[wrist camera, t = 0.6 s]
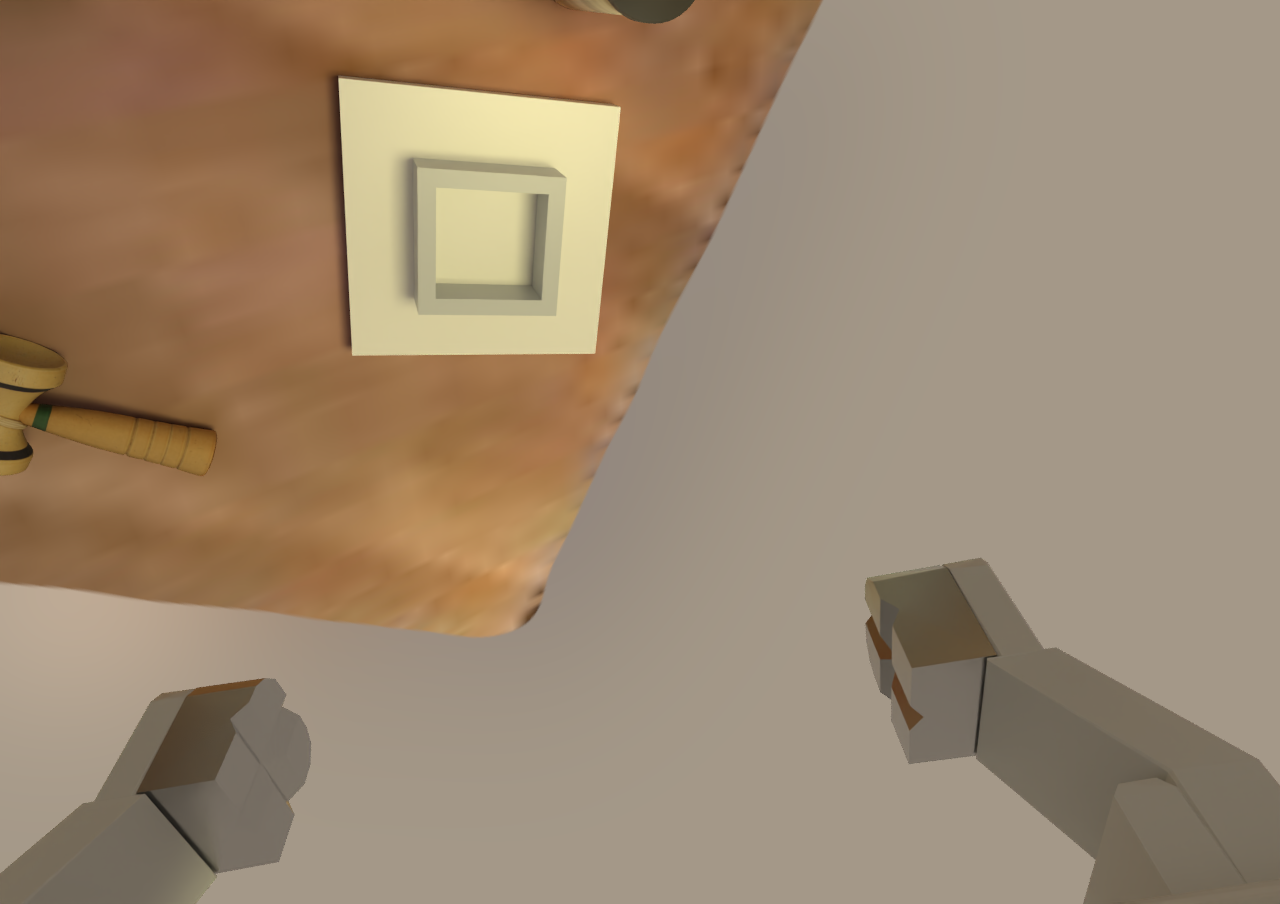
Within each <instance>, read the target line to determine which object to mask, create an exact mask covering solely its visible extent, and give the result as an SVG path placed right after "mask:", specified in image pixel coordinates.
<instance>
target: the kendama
mask: <svg viewBox="0 0 1280 904" xmlns="http://www.w3.org/2000/svg"><path fill="white" fill-rule="evenodd" d="M67 367H68V364H67V362H66V361H65V360H64V359H63V358H62V357H61V356H60V355H58V354H57V353H55V352H54V351H52V350H49V349H47V348H45V347H43V346H41V345H38V344H36V343H33V342H30V341H27V340H24V339H20V338H17V337H13V336H8V335H4V334H0V476H3V475H13V474H17V473H20V472H23V471H24V470H26V468H27V467H28V465H29V463H30V461H31V459H32V457H33V449H32V447H31V446H30V445H29V443H28V442H27V440H26V438H25V437H24V434H23V429H25V428H26V427H27V426H31V427H34V428H37V429H40V430H43V431H46V432H49V433H52V434H55V435H58V436H61V437H63V438H67V439H70V440H73V441H76V442H79V443H82V444H85V445H89V446H92V447H95V448H99V449H103V450H106V451H110V452H114V453H117V454H122V455H124V454H126V455H127V456H129V457H133V458H137V459H144V460H145V461H148V462H152V463H156V464H161V465H164V466H167V467H171V468H177V469H178V470H182V471H185V472H188V473H192V474H195V475H198V476H204V475H205V474H206V473H207V471H208V469H209V468H210V465H211V462H212V460H213V457H214V453H215V448H216V442H217V434H216V432H215V431H213V430H207V429H200V428H193V427H189V428H187V427H186V426H181V425H175V424H169V423H164V422H158V421H156V422H154V421H152V420H147V419H142V418H137V419H136V418H135V417H131V416H126V415H121V414H115V413H109V412H103V411H97V410H89V409H81V408H72V407H64V406H55V405H47V404H38V403H31V402H32V401H33V400H34V399H36V398H37V397H38V396H39V395H41V394H42V393H44V392H45V391H48V390H50V389H53V388H55V387H58V386H60V385H61V384H62V383H63V381H64V377H65V374H66V371H67Z"/></svg>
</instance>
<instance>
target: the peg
mask: <svg viewBox="0 0 1280 904" xmlns="http://www.w3.org/2000/svg"><path fill="white" fill-rule="evenodd" d="M554 1H556V2H557V3H558V4H560V5H561V6H563V7H566V8H568V9H573V10H581V11H590V12H599V13H608V14H617V15H623V16H625V17H627V18H629V19H631V20H634V21H638V22H643V23H654V24H656V23H663V22H667V21H670V20H672V19H675V18H676V17H678V16H680V15H681V14H682V13H683V12H685V11H686V10H687V9H688V8H689V7H690V6H691V4H692V3H693V2H694V0H554Z"/></svg>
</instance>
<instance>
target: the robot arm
mask: <svg viewBox="0 0 1280 904" xmlns="http://www.w3.org/2000/svg"><path fill="white" fill-rule="evenodd" d="M865 600H866V602H867V605H868V607H869V610H870V612H871V614H872V616H871V617H870V618H869V620H868V621H867V622H866V641H867V647H868V653H869V658H870V663H871V666H872V669H873V673H874V676H875V679H876V682H877V684H878V687H879V690H880V692H881V693H882V694H884V695H886V696H887V697H888V698H890V699H891V720H892V723H893V725H894V728H895V730H896V733H897V735H898V738H899V740H900V743H901V745H902V748H903V750H904V753H905V755H906V758H907V760H908V763H909V764H913V763H920V762H928V761H936V760H944V759H952V758H958V757H967V756H975V755H976V759H977V760H978V761H979V762H981V763H982V764H983V765H984V766H985V767H986V768H988V769H989V770H990V771H991V772H992V773H994V774H995V775H996V776H997V777H998V778H1000V779H1001V780H1002V781H1003V782H1004V783H1006V784H1007V785H1008V786H1009V787H1010V788H1012V789H1013V790H1014V791H1015V792H1016V793H1017V794H1018V795H1020V796H1021V797H1022V798H1023V799H1024V800H1026V801H1027V802H1028V803H1029V804H1030V805H1032V806H1033V807H1034V808H1035V809H1036V810H1037V811H1039V812H1040V813H1041V814H1042V815H1043V816H1044V817H1046V818H1047V819H1048V820H1049V821H1050V822H1052V823H1053V824H1054V825H1055V826H1056V827H1057V828H1059V829H1060V830H1061V831H1062V832H1063V833H1065V834H1066V835H1067V836H1068V837H1069V838H1071V839H1072V840H1073V841H1074V842H1075V843H1076V844H1078V845H1079V846H1080V847H1081V848H1082V849H1084V850H1085V851H1086V852H1087V853H1088V854H1090V855H1091V856H1092V857H1093V858H1094V859H1095V860H1096V861H1095V864H1094V868H1093V871H1092V875H1091V878H1090V882H1089V885H1088V889H1087V892H1086V896H1085V899H1084V903H1083V904H1280V785H1279V784H1278V783H1277V781H1276V780H1275V779H1274V778H1273V776H1272V775H1271V774H1270V773H1269V772H1268V770H1267V769H1266V768H1265V767H1264V766H1263V764H1262V763H1261V762H1260V761H1259V759H1257V758H1255V757H1253V756H1251V755H1250V754H1248V753H1246V752H1244V751H1242V750H1240V749H1239V748H1237V747H1235V746H1233V745H1231V744H1229V743H1228V742H1226V741H1224V740H1222V739H1220V738H1219V737H1217V736H1215V735H1213V734H1211V733H1210V732H1208V731H1206V730H1204V729H1203V728H1201V727H1199V726H1197V725H1195V724H1193V723H1191V722H1190V721H1188V720H1186V719H1184V718H1183V717H1180V716H1179V715H1177V714H1175V713H1174V712H1172V711H1170V710H1168V709H1166V708H1164V707H1163V706H1161V705H1159V704H1157V703H1155V702H1154V701H1152V700H1150V699H1148V698H1146V697H1145V696H1143V695H1141V694H1139V693H1137V692H1136V691H1134V690H1132V689H1130V688H1128V687H1127V686H1125V685H1123V684H1121V683H1119V682H1117V681H1115V680H1114V679H1112V678H1110V677H1108V676H1107V675H1105V674H1103V673H1101V672H1099V671H1098V670H1096V669H1094V668H1092V667H1090V666H1089V665H1087V664H1085V663H1083V662H1081V661H1079V660H1078V659H1076V658H1074V657H1072V656H1070V655H1069V654H1067V653H1065V652H1063V651H1061V650H1060V649H1057V648H1050V649H1044V648H1043V647H1042V645H1041V644H1040V642H1039V641H1038V639H1037V638H1036V636H1035V634H1034V633H1033V631H1032V630H1031V628H1030V627H1029V625H1028V624H1027V622H1026V621H1025V619H1024V618H1023V616H1022V614H1021V613H1020V611H1019V610H1018V608H1017V607H1016V605H1015V604H1014V602H1013V601H1012V599H1011V598H1010V596H1009V594H1008V593H1007V591H1006V590H1005V588H1004V587H1003V585H1002V584H1001V582H1000V581H999V579H998V578H997V576H996V575H995V573H994V571H993V570H992V569H991V567H990V565H989V564H988V562H986V561H984V560H983V559H982V558H977V559H971V560H966V561H960V562H955V563H948V564H943V565H942V566H940V565H938V566H932V567H926V568H921V569H915V570H909V571H903V572H898V573H892V574H886V575H881V576H875V577H869V578H867V580H866V584H865ZM285 697H286V694H285V692H284V691H283V689H282V688H281V687H280V685H279V684H278V682H277V681H276V679H267V678H263V679H256V680H249V681H242V682H235V683H228V684H221V685H213V686H206V687H199V688H196V689H190V690H183V691H176V692H169V693H162V694H161V695H159V696H158V697H157V698H155V699H154V700H153V701H151V702H150V704H149V706H148V707H147V709H146V711H145V713H144V714H143V716H142V718H141V720H140V722H139V723H138V725H137V727H136V729H135V730H134V732H133V734H132V736H131V737H130V739H129V741H128V743H127V744H126V746H125V748H124V750H123V751H122V753H121V755H120V757H119V759H118V760H117V762H116V764H115V766H114V767H113V769H112V771H111V773H110V775H109V776H108V778H107V780H106V782H105V783H104V785H103V787H102V789H101V790H100V792H99V794H98V796H97V797H96V799H95V801H94V802H89V803H84V804H82V805H81V806H79V807H78V808H77V809H76V810H75V811H73V812H72V813H71V814H70V815H69V816H68V817H67V818H65V819H64V820H63V821H62V822H60V823H59V824H58V825H57V826H56V827H55V828H53V829H52V830H51V831H50V832H49V833H47V834H46V835H45V836H44V837H43V838H42V839H40V840H39V841H38V842H37V843H36V844H35V845H33V846H32V847H31V848H30V849H29V850H27V851H26V852H25V853H24V854H23V855H22V856H20V857H19V858H18V859H17V860H16V861H15V862H13V863H12V864H11V865H10V866H9V867H8V868H6V869H5V870H4V871H3V872H2V873H0V904H196V902H197V901H198V900H199V899H200V898H201V896H202V895H203V894H204V893H205V891H206V890H207V889H208V888H209V886H210V885H211V884H212V883H213V881H214V880H215V879H216V878H217V875H216V873H221V872H227V871H232V870H238V869H243V868H248V867H253V866H259V865H265V864H270V863H275V862H279V860H280V857H281V854H282V851H283V848H284V845H285V842H286V839H287V835H288V832H289V829H290V826H291V823H292V820H293V817H294V812H293V810H292V808H291V806H290V804H289V800H290V799H291V798H292V797H293V796H294V794H295V793H296V792H297V791H298V790H299V789H300V788H301V787H302V786H303V785H304V783H305V780H306V777H307V773H308V770H309V767H310V757H311V756H310V755H311V741H310V738H309V734H308V731H307V727H306V725H305V724H304V722H303V721H302V719H301V717H300V716H299V715H297V714H295V713H293V712H291V711H289V710H288V709H285V708H284V707H282V705H283V702H284V699H285Z"/></svg>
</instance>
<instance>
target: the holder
mask: <svg viewBox="0 0 1280 904" xmlns="http://www.w3.org/2000/svg"><path fill="white" fill-rule="evenodd" d="M338 81H339V101H340V121H341V141H342V161H343V181H344V201H345V221H346V241H347V261H348V281H349V301H350V322H351V342H352V355H473V354H595V350H596V340H597V330H598V321H599V311H600V301H601V292H602V282H603V273H604V263H605V253H606V244H607V234H608V224H609V215H610V205H611V195H612V186H613V176H614V167H615V157H616V147H617V138H618V128H619V118H620V109H621V107H619V106H617V105H614V104H608V103H598V102H589V101H579V100H570V99H560V98H550V97H541V96H531V95H522V94H512V93H502V92H493V91H483V90H474V89H464V88H454V87H445V86H435V85H426V84H416V83H406V82H397V81H387V80H378V79H368V78H358V77H349V76H339V75H338Z"/></svg>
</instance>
